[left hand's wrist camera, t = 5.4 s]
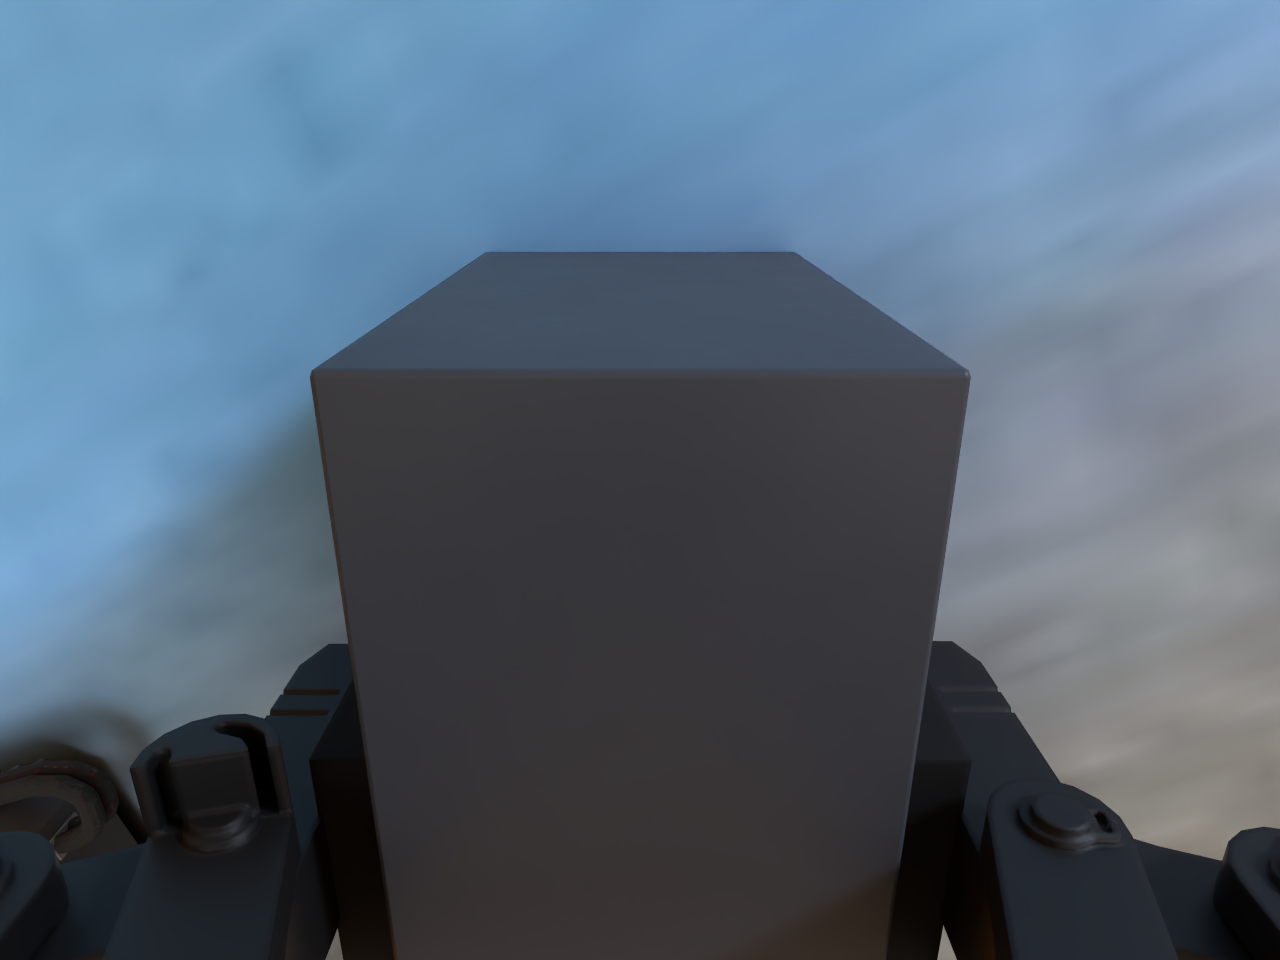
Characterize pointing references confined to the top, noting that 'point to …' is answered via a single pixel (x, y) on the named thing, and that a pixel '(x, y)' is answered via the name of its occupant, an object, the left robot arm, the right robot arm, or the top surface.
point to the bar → (640, 602)
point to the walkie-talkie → (64, 807)
